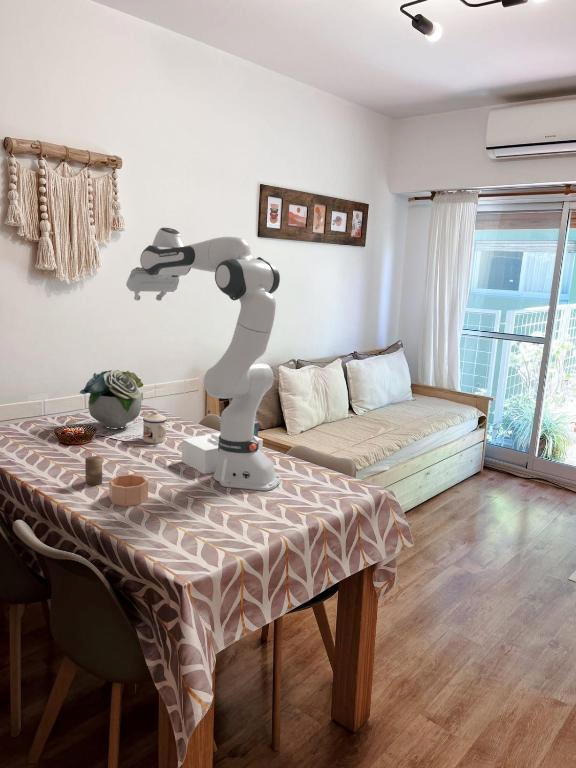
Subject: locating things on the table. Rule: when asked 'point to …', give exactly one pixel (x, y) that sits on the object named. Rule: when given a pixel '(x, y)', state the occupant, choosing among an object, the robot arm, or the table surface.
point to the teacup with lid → (154, 428)
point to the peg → (93, 470)
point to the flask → (256, 428)
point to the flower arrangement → (114, 397)
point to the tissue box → (204, 452)
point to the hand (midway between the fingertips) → (147, 299)
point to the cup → (128, 490)
